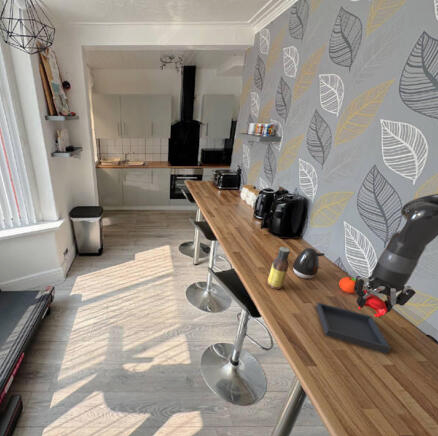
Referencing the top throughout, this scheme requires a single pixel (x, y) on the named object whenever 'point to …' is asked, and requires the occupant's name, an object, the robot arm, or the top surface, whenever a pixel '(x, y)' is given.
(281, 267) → the sauce bottle
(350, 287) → the clementine
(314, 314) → the top surface
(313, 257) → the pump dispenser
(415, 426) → the top surface
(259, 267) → the top surface
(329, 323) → the tray
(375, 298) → the red animal figurine
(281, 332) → the top surface
